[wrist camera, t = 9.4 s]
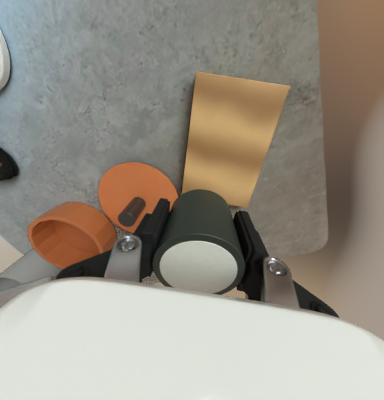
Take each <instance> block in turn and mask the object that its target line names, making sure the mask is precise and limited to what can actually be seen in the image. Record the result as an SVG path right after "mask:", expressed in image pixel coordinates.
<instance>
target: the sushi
mask: <svg viewBox="0 0 384 400" xmlns="http://www.w3.org/2000/svg"><path fill="white" fill-rule="evenodd" d="M152 264H153V270H154V273H155V275H156V277H157V278H158V280H159V281H160V282H161V283H162V284H163V285H164V286H166V287H173V288H179V289H186V290H192V291H198V292H205V293H211V294H218V295H222V294H224V293H226V292H228V291H230V290H232V289H233V288H235V287H236V286H237V285H238V284H239V283H240V282H241V280H242V278H243V276H244V273H245V262H244V258H243V254H242V251H241V247H240V243H239V240H238V236H237V233H236V229H235V225H234V222H233V218H232V215H231V211H230V208H229V205H228V204H227V202H226V201H225V200H224V198H222V197H221V196H220V195H218V194H217V193H215V192H212V191H209V190H204V189H196V190H191V191H188V192H185V193H183V194H182V195H180V196H179V197H178V198H177V199H176V200H175V201H174V203H173V205H172V207H171V210H170V212H169V215H168V218H167V220H166V223H165V226H164V229H163V231H162V234H161V237H160V240H159V242H158V245H157V248H156V251H155V253H154V256H153V261H152Z"/></svg>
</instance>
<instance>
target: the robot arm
mask: <svg viewBox="0 0 384 400" xmlns="http://www.w3.org/2000/svg"><path fill="white" fill-rule="evenodd" d="M9 75H10V56H9V52H8V48H7V44H6V41H5V39H4V36H3V33H2V31H1V29H0V90H1V89H2V88H3V87H4V86H5V85H6V83H7V81H8V78H9ZM169 212H170V201H168V199H164V198H160V199H159V201H158V203H157V205H156V207H155V209H154V210H153V212H152V214H149V213H146V214H145V215H144V217H143V219H142V220H141V222H140V224H139V225H138V227H137V228H136V230H135V232H134V233H133V235H125V236H122V237H120V238H119V239H117V240H116V241H115V243H114V246H113V249H111V250H108V251H106V252H103V253H101V254H98V255H95V256H93V257H90V258H88V259H85V260H83V261H80V262H77V263H75V264H72V265H70V266H68V267H66V268H65V269H63V270H62V271H61V272H60V273H59V274H58V275H57V276H54V277H53V276H52V275H49V276H46V277H43V278H40V279H37V280H33V281H30V282H27V283H24V284H21V285H18V286H15V287H11V288H8V289H5V290H2V291H0V400H384V341H383V340H381V339H380V338H378V337H377V336H375V335H374V334H372V333H370V332H368V331H367V330H365V329H363V328H361V327H359V326H357V325H355V324H353V323H351V322H348V321H345V320H343V319H340V318H339V316H338V315H337V314H336V313H335V311H333V309H331V308H330V307H329V306H328V305H327V304H325V303H324V302H322V301H321V300H320V299H318V298H317V297H316V296H314V295H313V294H311V293H310V292H309V291H307V290H306V289H304V288H303V287H302V286H300V285H299V284H297V283H296V282H295V281H293V280H292V276H291V272H290V270H289V268H288V267H287V265H286V264H284V263H283V262H282V261H280V260H279V259H277V258H274V257H269V255H268V253H267V251H266V248H265V246H264V244H263V242H262V240H261V238H260V236H259V233H258V232H257V231H256V230H255V228H254V225H253V223H252V221H251V219H250V217H249V214H248V212H245V211H239V212H236V213H235V216H234V219H233V222H234V225H235V229H236V233H237V236H238V240H239V243H240V247H241V251H242V254H243V258H244V262H245V273H244V276H243V278H242V280H241V282H240V283H239V284H238V285H237V286H236V287H237V290H239V291H244V292H245V293H246V299H243V298H237V297H230V296H224V295H218V294H211V293H205V292H198V291H192V290H186V289H179V288H173V287H166V286H159V285H153V284H146V283H142V279H143V278H145V277H147V276H151V274H152V271H154V270H153V264H152V261H153V256H154V253H155V251H156V248H157V245H158V242H159V240H160V237H161V234H162V231H163V229H164V226H165V223H166V220H167V218H168V215H169Z"/></svg>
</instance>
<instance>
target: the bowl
mask: <svg viewBox="0 0 384 400" xmlns="http://www.w3.org/2000/svg"><path fill="white" fill-rule="evenodd" d="M27 237H28V239H29V241H30V243H31V246H32V247H33V249H34V250H35V251H36V252H37V253H38V254H39V255H40V256H41V257H42V258H43V259H45V260H46V261H48V262H49V263H51V264H52V265H54V266H56V267H59V268H61V269H65V268H66V267H68V266H70V265H72V264H75V263H77V262H80V261H83V260H85V259H88V258H90V257H93V256H95V255H98V254H101V253H103V252H106V251H108V250H111V249H113V246H114V243H115V241H116V240H117V234H116V230H115V227H114V225H113V224H112V222H111V221H110V220H109V219H108V217H106V216H105V215H104V214H103V213H102V212H101V211H99V210H97V209H96V208H94V207H92V206H90V205H87V204H84V203H79V202H67V203H63V204H61V205H58V206H56V207H54V208H53V209H51V210H49V211H48V212H46V213H44V214H43V215H41V216H39V217H38V218H36V219H35V220H34V221H33V222H32V223H31V224H30V225H29V226H28V233H27Z"/></svg>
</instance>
